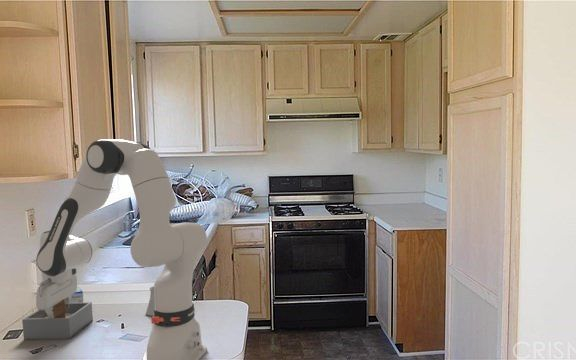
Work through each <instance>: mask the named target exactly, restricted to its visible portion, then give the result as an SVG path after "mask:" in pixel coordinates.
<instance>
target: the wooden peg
mask: <svg viewBox="0 0 576 360" xmlns="http://www.w3.org/2000/svg"><path fill="white" fill-rule="evenodd" d="M52 311H53V313H55V318H66V316H65V301H64V299H63V300H62V301H61V302H59V303H58V304H56V305H54V306H53V309H52Z"/></svg>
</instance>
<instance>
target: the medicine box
mask: <svg viewBox="0 0 576 360" xmlns="http://www.w3.org/2000/svg"><path fill="white" fill-rule="evenodd" d="M70 303H85V302H84V291H83V290H82V289H81V288H80V287H79V286H77V290H76V292H75V293H74V294H72V295H71V299H70Z"/></svg>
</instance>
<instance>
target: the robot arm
mask: <svg viewBox="0 0 576 360" xmlns="http://www.w3.org/2000/svg"><path fill="white" fill-rule="evenodd" d="M116 175H120V176H126V175H127V176H128V177H129V179H130V182H131V186H132V189H133V193H134V196H135V199H136V202H137V203H136V204H137V207H138V212H139V226H138V230H137V232H136V234H135V236H133V238H132V241H131V243H130V255H131V258H132V259H133V261H134V262H135V263H136V265H137V266H138V267H141V268H154V267H156V268H157V267H161V266H163V265H164V267H163V269H162V272H161V273H160V274H159V275H158V276H157V278H156V279H155V281H154V285H153V287H154V295H155V308H154V313H153V316H151V319H150V320H151V321H150V322H151V330H150V333H149V338H148V341H147V344H146V345H147V346H146V349H145V351H144V354H143V356H142V359H141V360H201V358H202V357H203V356H204V355H205V354H206V353H207V352H208V348H207V346H206V345H204V344H202V343H203V341H202V333H201V324H200V323H199V321H197V320H196V318H195V315H196V314H195V311H196V310H195V309H196V308H195V305H194V303H193V277H194V271H195V267H196V264H197V262H198V259H199V256H200V254H201V253H202V252H203V250H205V248H206V245H207V243H208V242H207V241H208V237H207V232H206V230H205V228H204V227H203V226H202V225H201V224H199V223H197V222H187V221H186V222H185V221H183V222H180V223H175V224H171V222H170V214H171V211H172V210H173V209H174V208H175V206H176V204H177V199H176V196H175V195H176V194H175V193H174V190H173V187H172V184H171V180H170V177H169V174H168V173H167V169H166V167H165V165H164V163H163V161H162V160H161V157H160V156H159V154H158V153H157V152H156V151H155V150H153V149H151V147H150V146H148V145H147V144H145V143H143V142H138V141H131V140H125V139H104V138H103V139H98V140H95V141H93V142H91V143H90V144H89V146H88V148H87V150H86V155H85V156H84V159H83V161H82V163H81V164H80V167H79V170H78V172H77V176H76V178H75V183H74V185H73V187H72V189H71V191H70V193H69V195H68V196H67V198H66V199H64V201H63V203H62V204H61V205H60V207H59V209H58V211H57V213H56V216H55V218H54V219H53V220H54V221H53V223H52V225H51V227H50V230H46V231H43V232H42V233H41V235H40V238H39V250H38V253H37V255H36V259H35V261H36V266H37V268H38V269H39V270H40V273H41V282H40V283H39V286H38V287H37V289H36V294H35V295H36V296H35V297H36V298H35V306H36V309H37V310H45V312H46V314H47V316H48V318H55V313H53V311H52V309H53V306H54V305H56V304H58V303H59V302H61V301H62V300H63V299H64V301H65V310H67V309H68V308H69V303H70V299H71V295H72V294H74V293H75V292H76V290H77V287H78V280H77V279H78V277H77V275H76V274H77V273H78V269H77V268H79V267H81V266H84V265H86V264H88V263H89V262H90V261H91V259H92V256H93V248H92V245H91V243H90V242H89V241H88V240H86V239H85V238H83V237H82V238H80V237H77V236H75V235H73V234H72V233H73V229H74V227H75V225H77V223H78V222H80V221H81V220H82V219H83V218H85V217H86V216H88V215H89V214H91V213H93V212H95V211H97V210H98V209H100V208H101V207H103V206H104V205H105V204H106V202H107V200H108V199H109V196H110V193H111V190H112V186H113V183H114V179H115V176H116Z"/></svg>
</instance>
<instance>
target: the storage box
mask: <svg viewBox="0 0 576 360" xmlns="http://www.w3.org/2000/svg"><path fill="white" fill-rule="evenodd" d="M65 316H66V318H48V316H47V314H46V312H45V310H38V309H37V310H36V311H34V312H32V313H31V314H29V315H28V316H26V317H24V318H22V320H21V321H22V333H23V334H22V335H23V340H24V339H25V340H24V341H27V340H26V339H30V340H31V341H33V340H34V341H35V340H36V339H38V340H39V339H40V340H41V341H42V340H71V339H72V338H73V337H75V336H76V335H78V333H80V332H81V331H82V330H84V329H85V328H86V327H87V326H88V325H90V324H91V323H92V322H93V321H94V318H93V303H92V301H91V302H84V303H69V308H68V309H67V310H65ZM32 339H33V340H32ZM38 340H37V341H38Z"/></svg>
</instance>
